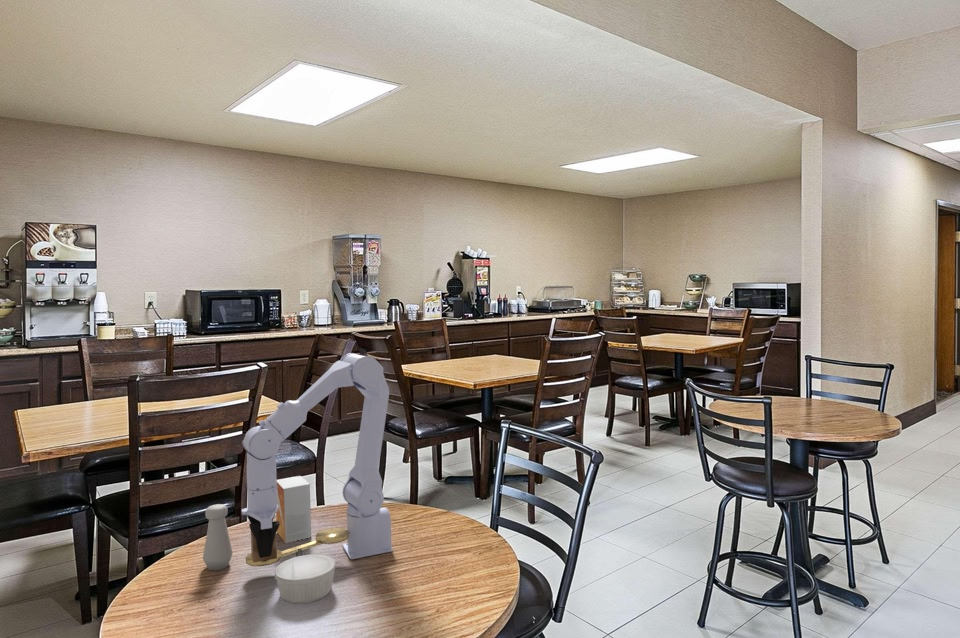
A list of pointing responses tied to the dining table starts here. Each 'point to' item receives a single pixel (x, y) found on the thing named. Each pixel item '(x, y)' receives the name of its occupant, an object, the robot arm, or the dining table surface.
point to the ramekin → (305, 578)
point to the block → (255, 551)
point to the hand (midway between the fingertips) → (263, 551)
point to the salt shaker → (217, 539)
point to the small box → (293, 509)
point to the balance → (306, 545)
